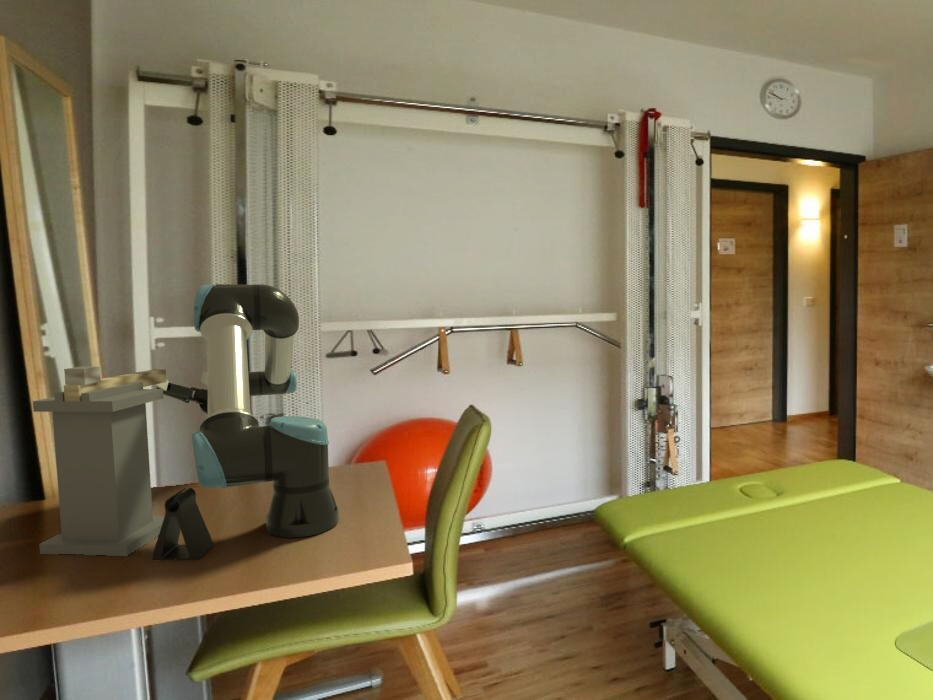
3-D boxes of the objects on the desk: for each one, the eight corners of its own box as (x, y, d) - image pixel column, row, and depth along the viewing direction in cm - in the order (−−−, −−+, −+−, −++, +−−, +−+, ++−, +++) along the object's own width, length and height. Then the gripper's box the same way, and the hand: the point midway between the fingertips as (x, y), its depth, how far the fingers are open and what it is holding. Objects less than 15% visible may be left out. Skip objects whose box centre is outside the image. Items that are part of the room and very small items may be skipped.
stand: (98, 523, 121) (88, 382, 119) (175, 525, 120) (167, 382, 117) (40, 554, 106) (27, 393, 104) (127, 556, 105) (116, 393, 102)
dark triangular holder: (214, 546, 109) (210, 487, 108) (199, 560, 103) (196, 497, 102) (168, 546, 109) (165, 487, 108) (151, 560, 103) (147, 498, 102)
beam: (152, 382, 129) (150, 356, 129) (168, 382, 129) (167, 356, 128) (62, 401, 103) (59, 369, 103) (82, 401, 103) (79, 369, 103)
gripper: (258, 417, 153) (221, 390, 133) (173, 417, 155) (125, 390, 136) (263, 392, 156) (228, 362, 137) (180, 392, 158) (134, 362, 139)
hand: (176, 376), depth 136 cm, fingers open, 13 cm apart
